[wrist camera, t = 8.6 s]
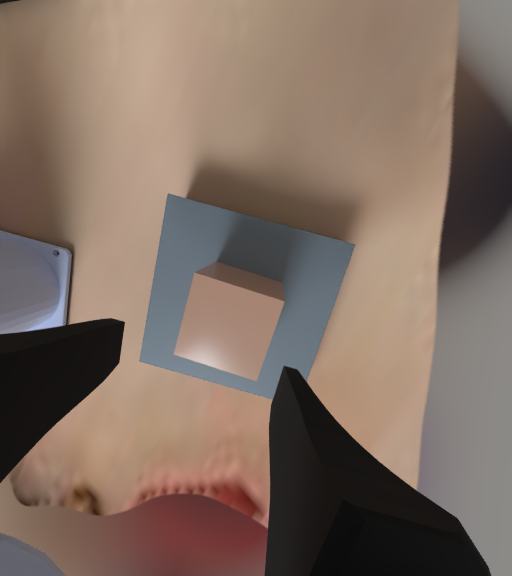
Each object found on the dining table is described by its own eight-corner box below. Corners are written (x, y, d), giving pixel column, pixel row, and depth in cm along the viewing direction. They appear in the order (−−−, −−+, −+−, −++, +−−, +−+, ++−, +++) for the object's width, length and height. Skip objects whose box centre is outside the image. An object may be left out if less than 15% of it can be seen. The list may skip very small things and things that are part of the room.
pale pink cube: (199, 323, 17) (173, 354, 13) (216, 261, 16) (194, 272, 12) (261, 343, 17) (256, 381, 13) (282, 282, 16) (284, 301, 12)
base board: (158, 343, 21) (139, 361, 18) (185, 199, 18) (167, 193, 16) (294, 382, 21) (297, 406, 18) (342, 242, 18) (355, 244, 15)
